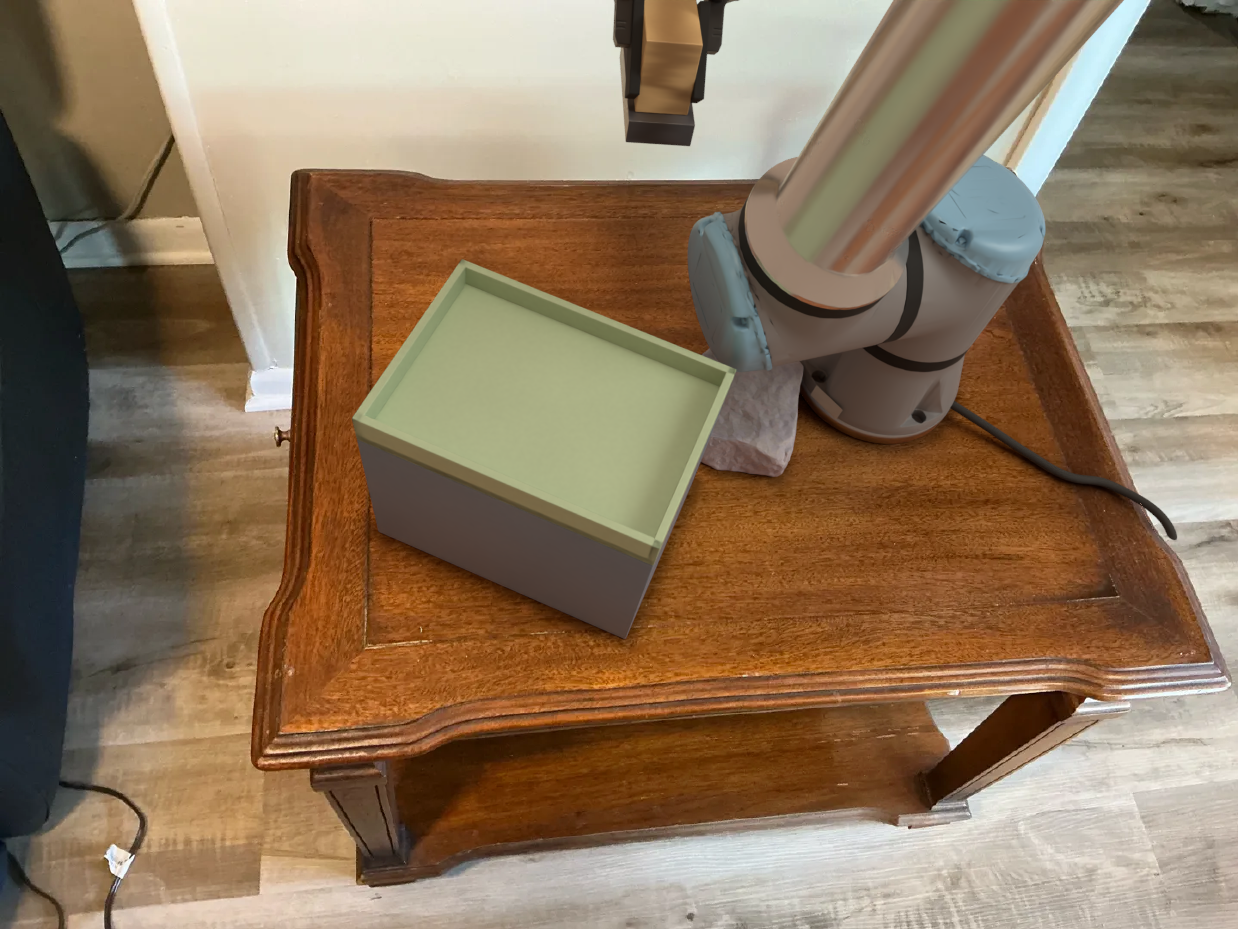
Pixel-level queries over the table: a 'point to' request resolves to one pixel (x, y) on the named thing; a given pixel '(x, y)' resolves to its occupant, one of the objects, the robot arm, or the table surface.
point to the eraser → (664, 75)
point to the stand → (508, 542)
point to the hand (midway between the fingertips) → (663, 97)
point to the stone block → (756, 421)
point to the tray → (548, 409)
